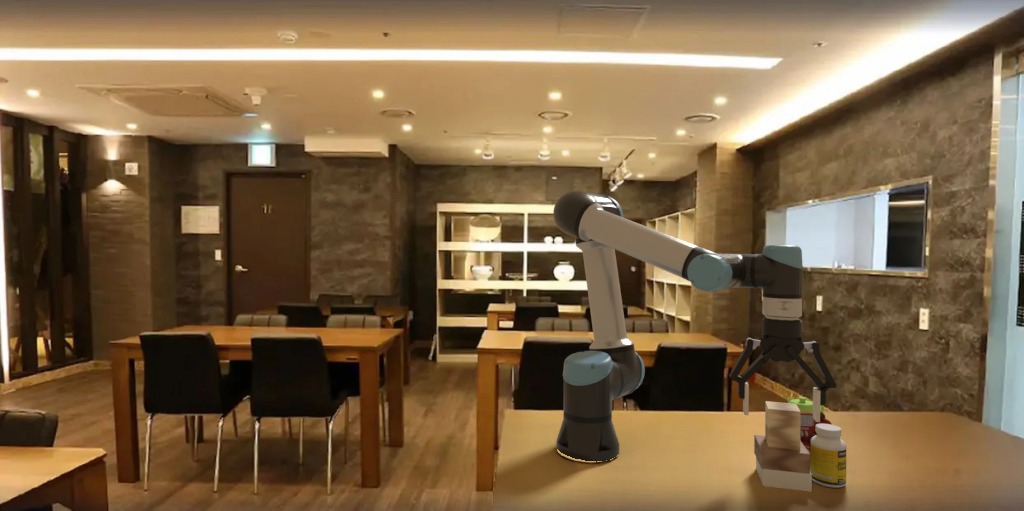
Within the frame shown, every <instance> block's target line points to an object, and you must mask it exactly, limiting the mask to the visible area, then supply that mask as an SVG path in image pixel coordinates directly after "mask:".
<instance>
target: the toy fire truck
mask: <svg viewBox="0 0 1024 511" xmlns="http://www.w3.org/2000/svg"><path fill="white" fill-rule="evenodd" d="M825 418H826V415H825V413H824V412H823V413H822V412H820V422H816V421H815V420H814V419H813V414H812V413H808V412H800V441H801V442H802V443H803V445H804V446H805V448H806V449H807V450H808V452H809V453H810V461H811V438H812V437H813V436H815V435H817V433H816V431H815V427H816V424H831V425H833V424H832V422H831V421H830V420H829V419H827V418H826V419H825Z"/></svg>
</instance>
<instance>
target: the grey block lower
mask: <svg viewBox="0 0 1024 511" xmlns="http://www.w3.org/2000/svg"><path fill="white" fill-rule="evenodd" d="M755 470H756V472H757V475H758V476H759V480H760V483H761V485H762V487H768V488H769V487H770V488H776V489H786V490H787V489H788V490H793V491H803V492H812V491H813V483H812V482H813V480H812V473H811V471H810V474H806V473H797V472H788V471H779V470H769V469H761V467H760V465H759V462H758V460H757V458H756V457H755ZM812 493H813V492H812Z"/></svg>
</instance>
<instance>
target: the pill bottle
mask: <svg viewBox="0 0 1024 511" xmlns="http://www.w3.org/2000/svg"><path fill="white" fill-rule="evenodd" d="M831 424H832V423H831ZM831 424H816V427H815V431H816V433H817V435H815V436H813V437H812V438H811V460H810V472H811V473H812V482H814V483H816V484H817V485H821V486H823V487H828V488H837V489H839V488H842V487H845V486H846V485H847V444H846V442H845V441H844V440H843V439H841V436H842V428H841V427H840V426H837V425H836V424H835V425H834V424H832V425H831Z"/></svg>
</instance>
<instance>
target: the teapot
mask: <svg viewBox="0 0 1024 511" xmlns="http://www.w3.org/2000/svg"><path fill="white" fill-rule="evenodd" d="M787 403H792V404H796V405H797V406H798V408H799V410H800V412H808V413H812V414H813V401H811V400H807V397H804V396H798V398H795V399H794V397H790V396H789V397H787ZM824 406H825V405H820V412H822V413H824V411H825V407H824ZM825 419H827V418H826V417H825Z"/></svg>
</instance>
